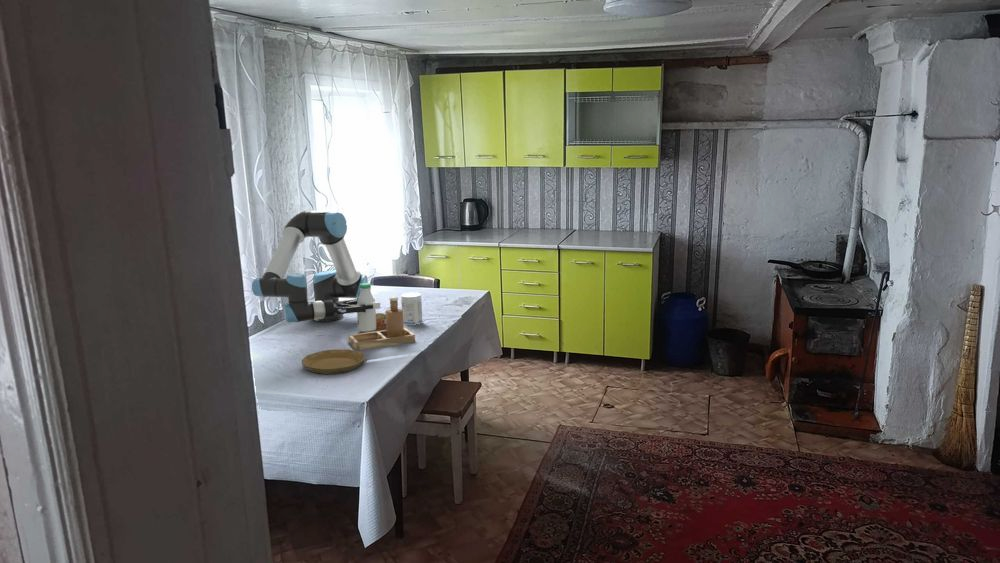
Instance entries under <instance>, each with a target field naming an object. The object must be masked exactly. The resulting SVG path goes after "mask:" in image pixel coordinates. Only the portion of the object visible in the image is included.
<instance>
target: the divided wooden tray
mask: <svg viewBox="0 0 1000 563" xmlns="http://www.w3.org/2000/svg"><path fill="white" fill-rule="evenodd" d="M415 342H416V334H415V333H413V332H412V331H410V330H409V329H408V328H406V326H404V336H399V337H392V338H387V336H386V329H383V330H382V329H381V330H374V331H369V332H364V333H362V332H360V333H356V334H355V333H354V334H348V343H349V344H350V345H351V346H352V347H353V348H354V349H355V351H363V350H370V349H376V348H377V349H378V348H382V347H388V346H389V347H390V346H397V345H402V344H408V343H409V344H410V343H415Z"/></svg>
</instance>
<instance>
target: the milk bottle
mask: <svg viewBox="0 0 1000 563" xmlns="http://www.w3.org/2000/svg"><path fill="white" fill-rule="evenodd" d="M371 287H372V284H371V283H369V282H368V283H362V284H360V295H359V298H358V301H357V305H363V304H364V305H365V304H366V303H375V302H376V300H375V301H374V298H375V297H373V294H372V291H371V290H372V288H371ZM376 313H377V309H372V310H366V312H365V313H364V312H357V313H356V318H357V330H358V332H360V331H363V332H364V333H368V332H375V331H377V330H376Z"/></svg>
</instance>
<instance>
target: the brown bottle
mask: <svg viewBox="0 0 1000 563" xmlns="http://www.w3.org/2000/svg"><path fill="white" fill-rule="evenodd" d="M388 299H389V307H390V308H389V309H387V310H385V312H384V314H385V315H386V328H385V330H386V336H387V338H392V337H399V336H404V327H405V325H404V320H403V310H402V308H399V306H398V305H399V302H398V301H399V297H398V296H390V297H388Z"/></svg>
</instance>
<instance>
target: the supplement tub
mask: <svg viewBox="0 0 1000 563" xmlns="http://www.w3.org/2000/svg"><path fill="white" fill-rule="evenodd" d="M400 297H401V298H400V300H401V301H400V303H401V305H400V306H401V309H402V310H403V320H404V326H417V325H416V324H418V325H421V324H423V307H422V306H423V302H422V294H421V293H420V292H405V293H402V294H401V296H400ZM420 323H421V324H420Z"/></svg>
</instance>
